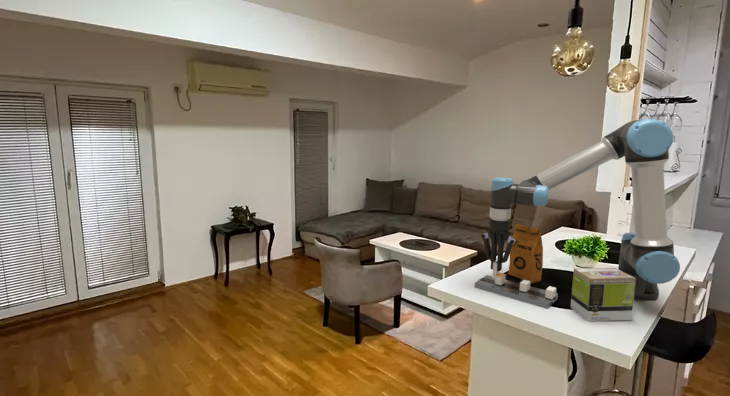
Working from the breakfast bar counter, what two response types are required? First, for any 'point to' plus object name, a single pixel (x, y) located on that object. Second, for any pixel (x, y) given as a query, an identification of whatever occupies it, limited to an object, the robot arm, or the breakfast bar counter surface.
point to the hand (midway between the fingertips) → (495, 278)
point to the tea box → (602, 294)
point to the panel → (516, 291)
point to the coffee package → (526, 254)
